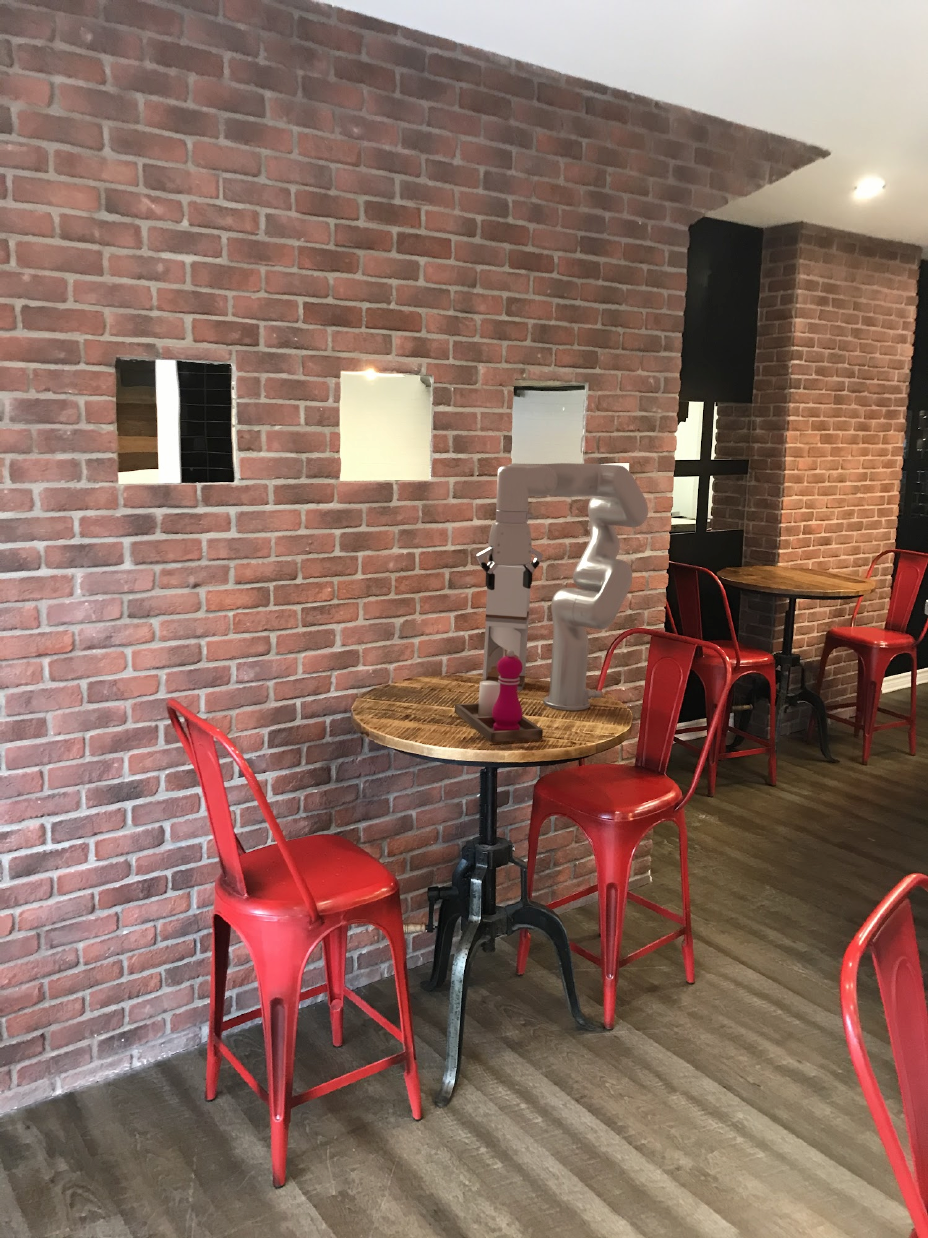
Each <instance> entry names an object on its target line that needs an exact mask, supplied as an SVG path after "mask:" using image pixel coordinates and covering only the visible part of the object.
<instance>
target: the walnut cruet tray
mask: <svg viewBox="0 0 928 1238" xmlns="http://www.w3.org/2000/svg"><path fill="white" fill-rule="evenodd" d="M478 706H479V702H470V703H455V704H454V713H455V714H456V715H457V717H459V718H460V719H462V721H464V722H465V723H466V724H467V725H469V726H470V727H472V728H473V730H475V731H476V732H478V733H479V734H480V735H481V736H482V737H484V738H485V739H486V740H487V741H489V742H490V743H491V744H489V745H490V746H503V745H514V744H513V743H514V741H516V742H518V741H521V742H519V743H520V744H530V743H529V742H530V741H534V740H537V741H535V743H539V742H538V740H543V736H544V735H543V732H544V729H543V728H541V727H540V726H538V725H536V723H534V722H533V721H532V720H530V719H528V718H527V717H525V716H524V715H522V719H521V720H520V721H519V722H518V724H519V725H520V730H507V731H493V726H494V723H496V721H495V720H494V719H493V717H492V716H484V717H478ZM523 741H525V742H523ZM500 742H505V743H500ZM507 742H508V743H507ZM501 744H503V745H501Z"/></svg>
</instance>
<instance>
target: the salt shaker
mask: <svg viewBox="0 0 928 1238" xmlns="http://www.w3.org/2000/svg"><path fill="white" fill-rule="evenodd" d="M478 689H479V691H478V703H479V706H478V717H484V716H492V711H493V707H494V705H495V703H496V701H497V699H498V696H499V693H500V683H499V682H495V681H481V680H480V681H479V688H478Z"/></svg>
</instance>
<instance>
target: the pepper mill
mask: <svg viewBox="0 0 928 1238" xmlns="http://www.w3.org/2000/svg"><path fill="white" fill-rule="evenodd" d="M497 671H498V672H499V674H500V676H499V680H498V682H499V683H500V692H499V696H498V699H497V701H496V703H495V705H494V707H493V711H492V717H493V719H494V720H495V721H496V723H494V726H493V731H507V730H520V725H519V724H518V722H519V721H520V720H521V719H522V716H523V709H522V705H521V702H520V698H519V696H518V695H519V694H518V691H517V686H518V684H519V683H520V681H519V679H520V677H518V676H519V674H520V673H521V672H522V663H521V661H520V660H519V659H518V658H516V657H514V651H513V650H508V651H507V656H505V657H503V658H501V659H500V660H499V661H498V664H497Z"/></svg>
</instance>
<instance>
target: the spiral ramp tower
mask: <svg viewBox="0 0 928 1238" xmlns="http://www.w3.org/2000/svg"><path fill="white" fill-rule="evenodd" d="M524 571H525V568H524V567H523V565H511V566H499V565H498V567H497V568H496V569H495V570H494V572H493V574H495V589H494V590H490V589H487V588H486V603H485V619H484V620H485V621H484V624H485V625H484V626H485V631H484V645H483V646H484V648H483V650H484V651H483V664H482V665H483V668H482V681H495V682H498V680H499V676H500V674H499V672H498V671H497V664H498V661H499V660H500V659H501V658H503V657H505V656H507V651H508V650H513V651H514V657H516V658H518V659H519V660H520V661H521V663H522V672H521V673H520V674H519V676H518V677H520V679H519V681H520V683H519V684H518V686H517V692H523V688H524V686H525V683H526V668H527V667H526V666H527V653H528V652H527V651H528V635H529V620H530V619H529V618H530V607H531V606H530V605H531V604H530V601H531V590H532V589H531V588H532V587H531V588H530V589H527V588H525V587H523V572H524Z"/></svg>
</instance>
